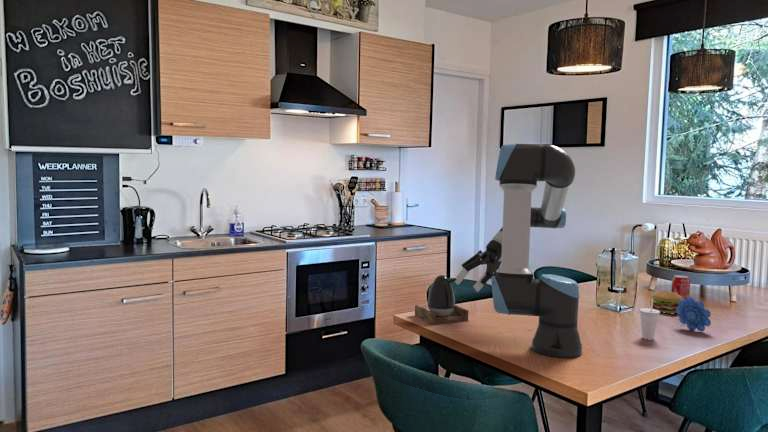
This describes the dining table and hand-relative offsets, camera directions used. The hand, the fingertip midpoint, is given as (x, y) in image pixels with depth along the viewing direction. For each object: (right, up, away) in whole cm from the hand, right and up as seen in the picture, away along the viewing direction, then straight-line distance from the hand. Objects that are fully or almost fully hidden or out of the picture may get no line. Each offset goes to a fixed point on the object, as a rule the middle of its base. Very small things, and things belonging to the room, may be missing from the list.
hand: (465, 286), depth 217 cm
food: (+86, -13, +16) cm, 88 cm away
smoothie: (+59, -15, -23) cm, 65 cm away
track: (-10, -12, -3) cm, 16 cm away
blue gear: (+79, -15, -13) cm, 82 cm away
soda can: (+98, -12, +31) cm, 103 cm away
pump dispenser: (-10, -11, -3) cm, 15 cm away
